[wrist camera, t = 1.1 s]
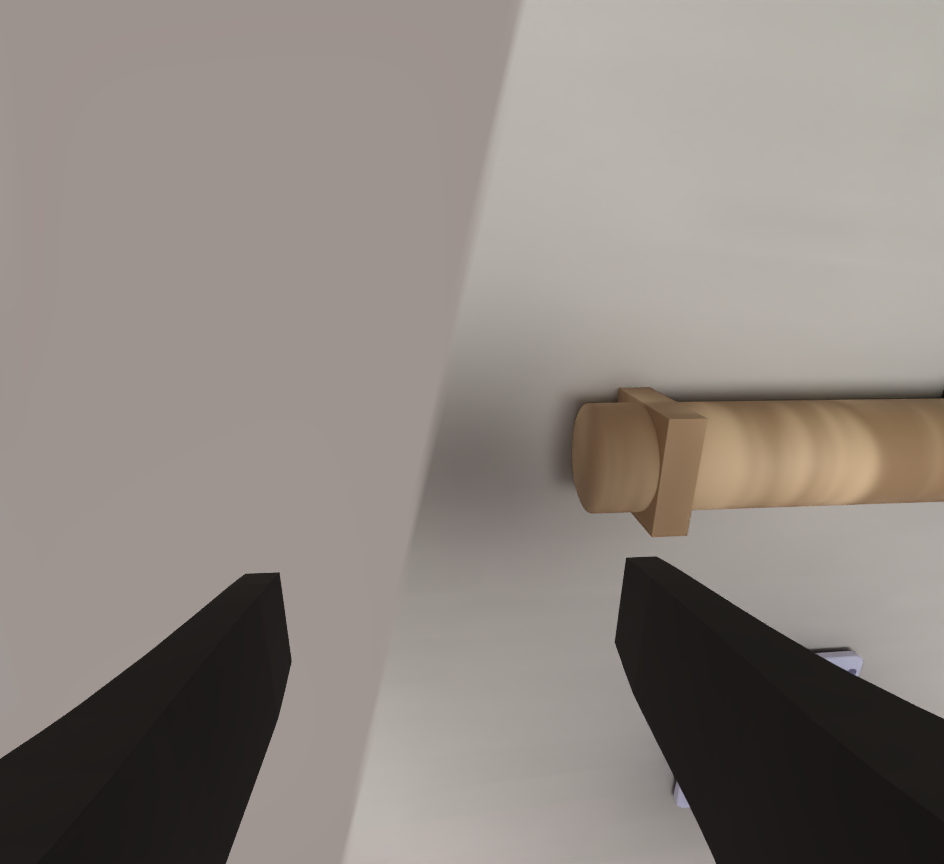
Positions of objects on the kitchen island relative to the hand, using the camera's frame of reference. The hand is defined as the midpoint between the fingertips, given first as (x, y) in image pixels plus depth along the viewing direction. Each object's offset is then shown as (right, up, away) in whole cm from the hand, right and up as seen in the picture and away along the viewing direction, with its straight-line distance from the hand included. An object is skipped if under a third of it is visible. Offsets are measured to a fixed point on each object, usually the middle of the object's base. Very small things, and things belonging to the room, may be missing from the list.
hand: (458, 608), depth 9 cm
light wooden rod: (+13, +3, +10) cm, 17 cm away
